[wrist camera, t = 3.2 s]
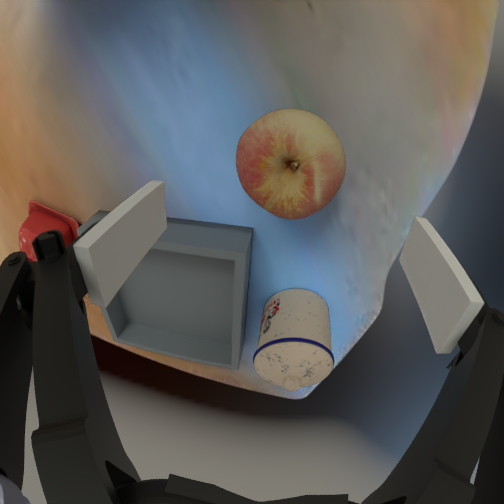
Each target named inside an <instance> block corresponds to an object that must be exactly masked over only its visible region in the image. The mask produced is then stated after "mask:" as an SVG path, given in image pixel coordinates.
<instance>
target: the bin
mask: <svg viewBox="0 0 504 504" xmlns="http://www.w3.org/2000/svg"><path fill="white" fill-rule="evenodd" d="M109 213H110V212H108V211H98V212H97V213H95V214H94V215H93V216H92V217H91V218H90V219H88V220H87V221H86V222H85V223H84V224H82V225H81V226H80V227H79V228H78V229H77V233H78V236H81V234H82V233H83V232H84V231H86V229H87V228H89V227H90V226H91V225H92V224H94V223H96V222H97V221H99V220H101V219H103V218H104V217H106V216H107V215H108V214H109ZM166 220H167V228H166V230H165V231H164V232H163V233H162V235H161V236H160V237H159V238H158V239H157V241H156V242H155V243H154V244H153V246H152V247H151V248H150V250H149V251H148V252H147V253H146V255H145V256H144V257H143V258H142V260H141V261H140V262H139V264H138V265H137V266H136V268H135V269H134V270H133V272H132V273H131V274H130V275H129V277H128V278H127V280H126V281H125V282H124V284H123V285H122V286H121V288H120V289H119V290H118V292H117V293H116V295H115V296H114V297H113V299H112V300H111V302H110V303H109V304H108V306H107V307H102V306H100V307H101V310H102V312H103V315H104V318H105V320H106V323H107V325H108V328H109V330H110V332H111V335H112V337H113V340H114V341H116V342H119V343H123V344H126V345H129V346H133V347H136V348H140V349H144V350H147V351H151V352H155V353H159V354H163V355H167V356H171V357H175V358H179V359H184V360H188V361H193V362H197V363H202V364H207V365H212V366H217V367H223V368H228V369H234V370H238V369H239V364H240V359H241V354H242V350H243V345H244V335H245V323H246V310H247V298H248V286H249V274H250V262H251V249H252V237H253V228H250V227H242V226H234V225H226V224H218V223H210V222H201V221H193V220H184V219H175V218H166Z"/></svg>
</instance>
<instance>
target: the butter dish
mask: <svg viewBox="0 0 504 504" xmlns="http://www.w3.org/2000/svg"><path fill="white" fill-rule="evenodd" d="M78 228H79V224H78V222H77V221H76V220H75V219H73V218H72V217H70V216H67V215H65V214H63V213H60V212H58V211H56V210H53V209H51V208H49V207H47V206H44V205H42V204H40V203H38V202H36V201H33V200H30V202H29V217H28V218H27V219H26V220H25V222H24V223H23V224H22V226H21V227H20V230H19V246H20V251H23V252H26V255H27V257H28V260H29V262H33V261H38V260H37V257H36V255H35V252H34V249H33V246H32V241H33V239H34V238H35V237H36V236H38V235H39V234H41V233H43V232H46V231H49V230H59V231H61V233H62V236H63V240H64V243H65V247H67V246H68V245H70V244H71V243H72V242H73V241H74V240H75V239H76V238H77V237H78V233H77V229H78Z"/></svg>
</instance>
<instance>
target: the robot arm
mask: <svg viewBox="0 0 504 504" xmlns="http://www.w3.org/2000/svg"><path fill="white" fill-rule="evenodd" d="M166 228H167V220H166V206H165V190H164V181H153V180H151V181H150V182H148V183H147V184H146V185H144V186H143V187H142V188H140V189H139V190H138V191H137V192H135V193H134V194H133V195H131V196H130V197H129V198H128V199H126V200H125V201H124V202H123V203H121V204H120V205H119V206H118V207H116V208H115V209H114V210H113V211H112V212H110V213H109V214H108V215H107V216H106V217H104V218H103V219H101V220H99V221H97V222H96V223H94V224H92V225H91V226H90V227H89V228H87V229H86V231H84V232H83V233H82V234H81V236H78V237H77V238H76V239H75V240H74V241H73V242H72V243H71V244H70V245H68V246H67V247H65V243H64V240H63V236H62V233H61V231H59V230H49V231H46V232H43V233H41V234H39V235H38V236H36V237H35V238H34V239H33V241H32V246H33V249H34V252H35V255H36V257H37V260H38V261H33V262H29V260H28V257H27V255H26V252H23V251H18V252H13V253H11V254H10V255H9V256H8V257H7V258H5V260H4V261H3V262H2V264H1V266H0V504H30V502H29V500H28V499H27V498H26V497H25V496H23V494H22V492H21V490H22V484H23V475H24V444H25V443H24V441H25V422H26V411H27V401H28V393H29V386H30V379H31V373H32V367H33V372H34V385H35V394H36V404H37V411H38V418H39V428H38V429H37V430H35V431H33V433H32V436H31V439H32V448H33V453H34V458H35V461H36V466H37V470H38V474H39V478H40V482H41V485H42V488H43V492H44V495H45V498H46V501H47V504H358V503H355V502H351V501H348V494H342V495H341V494H340V495H304V496H299V497H293V498H287V499H281V500H274V501H265V502H257V501H253V500H250V499H248V498H245V497H243V496H240V495H237V494H235V493H232V492H230V491H227V490H225V489H223V488H220V487H218V486H216V485H213V484H209V483H204V482H200V481H196V480H191V479H188V478H184V477H180V476H176V475H173V474H170V475H169V478H168V479H151V480H143V481H141V479H140V477H139V475H138V473H137V471H136V469H135V467H134V466H133V464H132V462H131V461H130V459H129V458H128V456H127V454H126V453H125V451H124V448H123V446H122V443H121V441H120V438H119V436H118V433H117V430H116V427H115V424H114V422H113V419H112V416H111V413H110V410H109V407H108V403H107V400H106V397H105V393H104V390H103V386H102V383H101V379H100V375H99V372H98V368H97V363H96V359H95V355H94V350H93V346H92V341H91V336H90V331H89V325H88V320H87V313H86V307H85V303H84V301H83V297H84V296H85V295H86V294H87V292H88V295H89V298H90V300H91V303H92V304H95V305H99V306H102V307H107V306H108V304H109V303H110V302H111V300H112V299H113V297H114V296H115V295H116V293H117V292H118V290H119V289H120V288H121V286H122V285H123V284H124V282H125V281H126V280H127V278H128V277H129V275H130V274H131V273H132V272H133V270H134V269H135V268H136V266H137V265H138V264H139V262H140V261H141V260H142V258H143V257H144V256H145V255H146V253H147V252H148V251H149V250H150V248H151V247H152V246H153V244H154V243H155V242H156V241H157V239H158V238H159V237H160V236H161V235H162V233H163V232H164V231H165V230H166ZM399 261H400V263H401V265H402V268H403V269H404V272H405V274H406V276H407V279H408V281H409V283H410V286H411V288H412V290H413V293H414V295H415V297H416V300H417V302H418V304H419V307H420V310H421V312H422V315H423V317H424V320H425V322H426V325H427V328H428V330H429V333H430V336H431V339H432V342H433V345H434V348H435V351H436V353H451V351H452V350H453V348H454V347H455V346H456V345H457V343H458V345H459V347H460V351H459V352H458V354H457V355H456V356H455V358H454V359H453V360H452V361H451V363H450V364H449V365H448V366H447V368H448V369H449V367H450V366H451V369H450V371H449V373H448V376H447V378H446V380H445V382H444V385H443V387H442V389H441V391H440V393H439V395H438V397H437V399H436V401H435V403H434V405H433V407H432V409H431V410H430V412H429V414H428V416H427V418H426V420H425V421H424V423H423V425H422V427H421V428H420V430H419V432H418V433H417V435H416V437H415V438H414V440H413V441H412V443H411V445H410V446H409V448H408V449H407V451H406V452H405V454H404V455H403V457H402V458H401V460H400V461H399V463H398V464H397V466H396V467H395V468H394V470H393V471H392V472H391V474H390V475H389V476H388V478H387V479H386V480H385V482H384V483H383V484H382V485H381V486H380V487H379V488H378V489H377V490H375V491H374V492H373V493H372V494H370V495H369V496H368V497H367V498H366V499H365V500H364V501H363V502H362V503H361V504H504V314H503V313H502V312H501V311H499V310H497V309H494V308H490V307H489V306H488V304H487V302H486V301H485V299H484V297H483V296H482V294H481V292H480V291H478V287H477V286H476V285H475V283H474V281H473V280H472V278H471V277H470V275H468V273H466V272H465V271H464V269H463V268H462V266H461V265H460V263H459V262H458V260H457V259H456V258H455V256H454V255H453V253H452V252H451V251H450V249H449V248H448V246H447V245H446V244H445V242H444V241H443V240H442V238H441V237H440V236H439V234H438V233H437V232H436V230H435V229H434V228H433V227H432V225H431V224H430V223H429V222H428V221H427V219H425V218H421V217H416V216H414V219H413V222H412V225H411V228H410V231H409V234H408V237H407V240H406V243H405V245H404V248H403V251H402V253H401V256H400V259H399ZM16 301H17V302H18V304H19V306H18V308H17V302H16ZM479 457H480V459H479ZM478 459H479V464H478V469H477V473H476V477H475V481H474V485H473V484H471V483H470V478H471V475H472V473H473V471H474V468H475V466H476V464H477V462H478Z"/></svg>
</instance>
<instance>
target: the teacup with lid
mask: <svg viewBox="0 0 504 504" xmlns="http://www.w3.org/2000/svg"><path fill="white" fill-rule="evenodd" d="M253 364H254V367H255V370H256V372H257V373H258V374H259V375H260V376H261V377H262V378H263V379H264V380H266V381H268V382H270V383H272V384H275V385H278V386H283V387H284V389H286V390H288V391H297V390H299V389H300V388H301V387H305V386H310V385H313V384H316V383H318V382H320V381H322V380H323V379H325V378H326V377H327V376H328V375H329V374H330V372H331V370H332V368H333V365H334V357H333V354H332V351H331V334H330V320H329V309H328V306H327V303H326V302H325V300H324V299H323V298H322V297H321V296H319V295H318V294H316V293H315V292H312V291H309V290H306V289H299V288H293V289H286V290H283V291H280V292H278V293H276V294H274V295H273V296H271V297H270V298H269V299H268V301H267V302H266V304H265V306H264V310H263V316H262V322H261V328H260V334H259V340H258V346H257V351H256V352H255V354H254V357H253Z"/></svg>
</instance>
